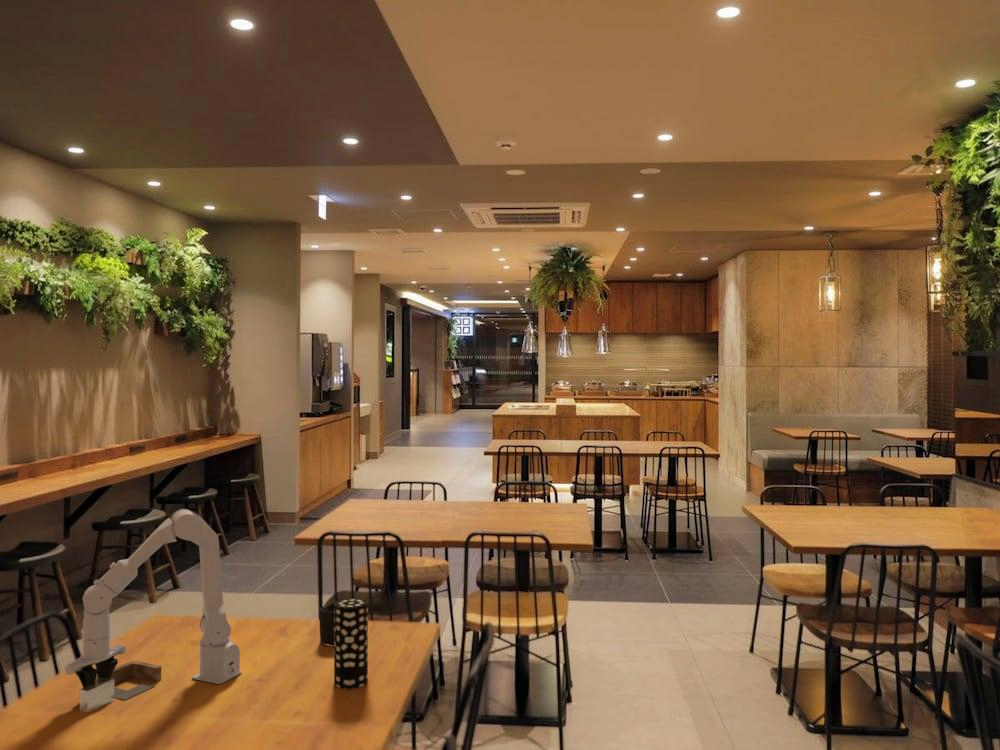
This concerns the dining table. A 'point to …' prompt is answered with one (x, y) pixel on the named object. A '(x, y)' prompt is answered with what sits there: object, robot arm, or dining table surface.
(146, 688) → the L-shaped mat
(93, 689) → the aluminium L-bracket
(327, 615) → the pen holder
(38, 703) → the dining table surface
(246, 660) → the dining table surface
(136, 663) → the corner jig
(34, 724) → the dining table surface
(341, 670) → the white-spotted black cylinder
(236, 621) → the dining table surface
